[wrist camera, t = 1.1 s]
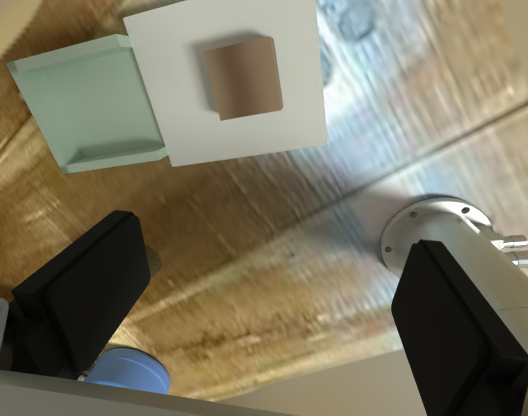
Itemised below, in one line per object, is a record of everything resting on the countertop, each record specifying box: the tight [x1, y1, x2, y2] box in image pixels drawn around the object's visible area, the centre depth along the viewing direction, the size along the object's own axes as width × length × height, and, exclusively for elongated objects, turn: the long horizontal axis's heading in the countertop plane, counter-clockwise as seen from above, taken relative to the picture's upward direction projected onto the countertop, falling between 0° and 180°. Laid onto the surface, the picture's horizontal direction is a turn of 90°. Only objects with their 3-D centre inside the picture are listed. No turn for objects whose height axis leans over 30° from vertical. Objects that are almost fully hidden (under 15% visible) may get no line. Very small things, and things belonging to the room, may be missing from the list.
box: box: [6, 34, 168, 174], centre depth 32 cm, size 13×12×5 cm
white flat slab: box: [123, 0, 328, 167], centre depth 29 cm, size 18×15×3 cm
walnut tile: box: [204, 36, 283, 121], centre depth 26 cm, size 6×6×2 cm
